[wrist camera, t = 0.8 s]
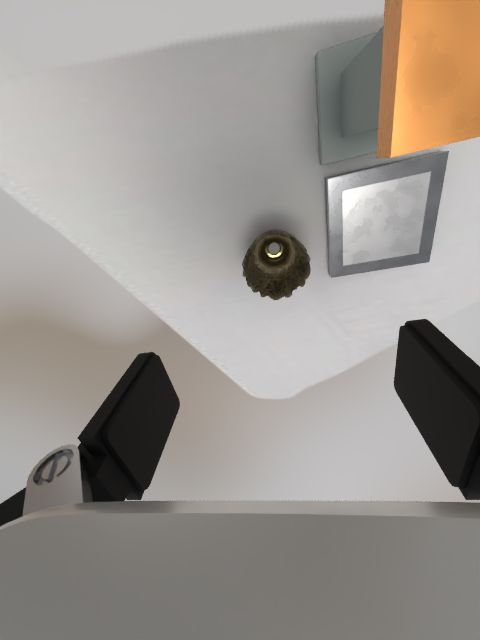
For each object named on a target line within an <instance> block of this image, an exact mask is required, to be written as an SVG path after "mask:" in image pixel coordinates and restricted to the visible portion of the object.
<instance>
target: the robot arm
mask: <svg viewBox="0 0 480 640" xmlns="http://www.w3.org/2000/svg"><path fill="white" fill-rule="evenodd" d="M394 387H395V390H396V392H397V394H398V396H399V397H400V399H401V401H402V403H403V404H404V406H405V408H406V409H407V411H408V413H409V414H410V416H411V418H412V420H413V421H414V423H415V425H416V426H417V428H418V430H419V432H420V433H421V435H422V436H423V438H424V440H425V442H426V444H427V445H428V447H429V449H430V450H431V452H432V454H433V455H434V457H435V459H436V460H437V462H438V464H439V466H440V467H441V469H442V471H443V472H444V474H445V476H446V477H447V479H448V481H449V482H450V484H451V485H452V486H454V487H459V489H460V491H461V492H462V494H463V496H464V497H465V499H466V500H480V367H479V366H478V365H477V364H476V363H475V362H474V361H473V360H472V359H471V358H469V357H468V356H467V355H466V354H465V353H464V352H462V351H461V350H460V349H459V348H458V347H457V346H456V345H455V344H454V343H453V342H451V341H450V340H449V339H448V338H447V337H446V336H445V335H444V334H443V333H442V332H440V331H439V330H438V329H437V328H436V327H435V326H434V325H433V324H432V323H431V322H430V321H428V320H427V319H421V320H413V321H407V322H406V323H405V326H401V327H400V330H399V339H398V349H397V358H396V368H395V377H394ZM179 406H180V402H179V398H178V396H177V394H176V392H175V390H174V388H173V385H172V383H171V381H170V379H169V376H168V375H167V372H166V370H165V368H164V365H163V363H162V361H161V359H160V357H159V356H158V355H156V354H155V353H153V352H149V353H141V354H139V355H138V356H137V357H136V358H135V360H134V361H133V362H132V364H131V365H130V367H129V368H128V369H127V371H126V372H125V374H124V375H123V376H122V377H121V379H120V380H119V382H118V383H117V384H116V386H115V387H114V389H113V390H112V391H111V393H110V394H109V395H108V397H107V398H106V399H105V401H104V402H103V404H102V405H101V407H100V408H99V409H98V411H97V412H96V413H95V415H94V416H93V417H92V419H91V420H90V422H89V423H88V424H87V426H86V427H85V429H84V430H83V431H82V433H81V434H80V435H79V437H78V439H79V440H80V442H81V443H80V445H79V446H78V447H76V446H75V445H65V446H61V447H59V448H57V449H55V450H54V451H52V452H50V453H49V454H47V455H46V456H45V457H44V458H43V459H42V460H40V461H39V463H38V464H37V465H36V466H35V467H34V468H33V470H32V472H31V473H30V475H29V477H28V481H27V486H26V488H24V489H23V490H21V491H19V492H18V493H16V494H15V495H13V496H12V497H10V498H9V499H7V500H6V501H4V502H3V503H1V504H0V640H480V503H463V502H421V501H420V502H419V501H124V500H125V498H126V499H127V500H141V498H142V495H143V493H144V490H146V489H147V488H148V487H149V485H150V483H151V480H152V478H153V475H154V473H155V470H156V467H157V465H158V462H159V460H160V457H161V454H162V452H163V449H164V446H165V444H166V441H167V439H168V436H169V433H170V430H171V428H172V426H173V423H174V420H175V418H176V415H177V413H178V410H179Z"/></svg>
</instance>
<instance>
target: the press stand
mask: <svg viewBox="0 0 480 640" xmlns="http://www.w3.org/2000/svg"><path fill="white" fill-rule="evenodd" d="M383 29H384V26H383V27H382V28H381V29H380V30H379V31H378V32H377V33H374V34H371V35H368V36H364V37H361V38H358V39H355V40H352V41H349V42H346V43H343V44H340V45H337V46H334V47H331V48H328V49H324V50H321V51H318V52H317V55H316V57H315V64H316V86H317V107H318V129H319V151H320V165H324V164H328V163H333V162H337V161H341V160H345V159H349V158H353V157H357V156H361V155H366V154H370V153H374V152H377V142H378V124H379V105H380V86H381V67H382V48H383Z"/></svg>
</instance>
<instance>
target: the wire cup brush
mask: <svg viewBox="0 0 480 640" xmlns="http://www.w3.org/2000/svg"><path fill="white" fill-rule="evenodd" d="M273 242H276V243H278V244H279V245H280V251H279V252H278V253H277V254H271V253H270V252H269V251H268V247H269V245H270V244H271V243H273ZM309 261H310V257H309V255H308V254H307V250H306V248H305V247H304V246H303V245H302V244H301V243H300V242H299V241H298V240H297V239H296V238H295V237H294V236H292V235H291V234H289V233H287V232H284V231H279V230H273V231H268V232H266V233H264V234H262V235H260V236H259V237H258V238H257V239H256V240H255V241H254V242H253V243H252V245H251V247H250V248H249V249H248V251H247V253H246V255H245V258H244V260H243V263H242V266H243V269H244V271H243V276H244V277H246V281H247V284H248V286H249V287H251V289H252V291H253V292H258V291H259V292H260V294H261V297H265V296H266V295H267V296H269V297H270V298H271V299H274V300H278V299H280V298H282V297H284V296H285V297H290V296H291V295H292V291H293V290H294V289H297V287H298V286H301V287H303V286H304V285H305V280H306V279H307V278H308V277H309V275H310V264H309Z"/></svg>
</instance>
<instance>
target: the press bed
mask: <svg viewBox="0 0 480 640" xmlns="http://www.w3.org/2000/svg"><path fill="white" fill-rule="evenodd" d="M448 153H449V151H441V152H436V153H432V154H428V155H423V156H419V157H415V158H410V159H406V160H402V161H397V162H393V163H389V164H385V165H380V166H376V167H372V168H367V169H363V170H359V171H354V172H350V173H346V174H342V175H337V176H333V177H329V178H325V186H326V212H327V239H328V265H329V275H330V277H331V278H332V277H338V276H345V275H351V274H357V273H363V272H369V271H376V270H382V269H388V268H394V267H401V266H407V265H413V264H419V263H425V262H429V260H430V255H431V249H432V243H433V238H434V232H435V226H436V221H437V215H438V209H439V204H440V198H441V192H442V187H443V181H444V175H445V170H446V164H447V158H448Z"/></svg>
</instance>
